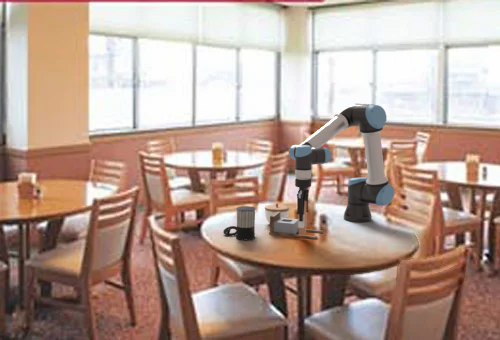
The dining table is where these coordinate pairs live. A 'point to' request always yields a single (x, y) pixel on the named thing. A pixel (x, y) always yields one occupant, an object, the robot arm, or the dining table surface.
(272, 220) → the track
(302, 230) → the dowel
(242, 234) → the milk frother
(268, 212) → the lidded bowl
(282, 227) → the block
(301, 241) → the dining table surface
